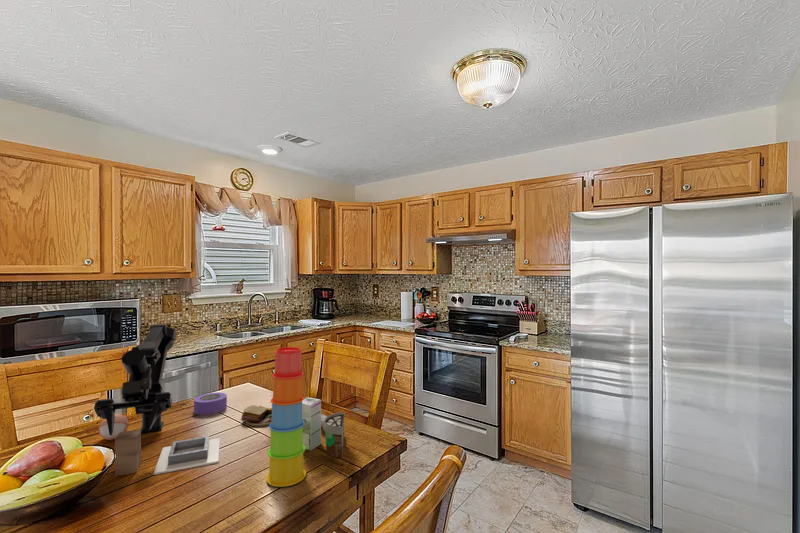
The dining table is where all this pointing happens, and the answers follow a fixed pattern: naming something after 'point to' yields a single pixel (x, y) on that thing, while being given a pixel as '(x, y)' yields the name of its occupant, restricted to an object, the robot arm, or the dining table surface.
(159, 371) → the robot arm
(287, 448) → the stacking cups
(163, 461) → the mat
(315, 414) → the syrup box
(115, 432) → the toy ball
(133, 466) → the walnut block
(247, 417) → the toy sandwich meal
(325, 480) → the dining table surface
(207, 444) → the collar
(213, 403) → the tape roll
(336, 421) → the food container
